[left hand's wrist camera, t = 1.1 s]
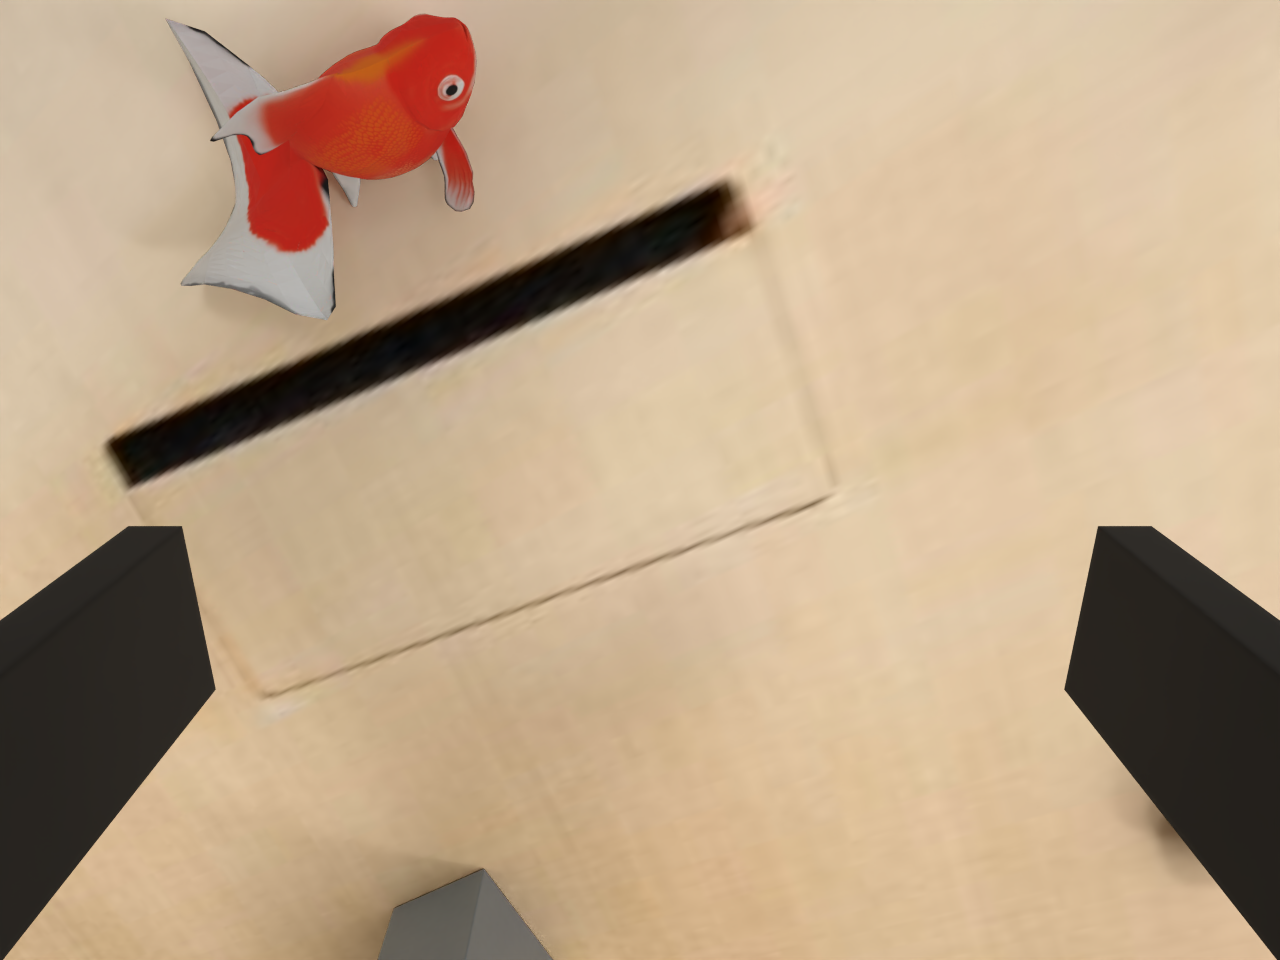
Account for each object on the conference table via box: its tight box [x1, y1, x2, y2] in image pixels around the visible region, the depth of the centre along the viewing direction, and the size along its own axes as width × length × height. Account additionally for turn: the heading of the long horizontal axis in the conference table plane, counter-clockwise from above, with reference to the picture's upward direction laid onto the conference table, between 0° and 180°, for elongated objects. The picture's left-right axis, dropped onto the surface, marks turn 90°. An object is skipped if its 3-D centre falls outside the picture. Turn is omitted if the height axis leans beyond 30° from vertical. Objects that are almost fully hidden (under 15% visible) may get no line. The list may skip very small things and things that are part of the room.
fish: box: [166, 14, 477, 320], centre depth 33 cm, size 11×16×10 cm
